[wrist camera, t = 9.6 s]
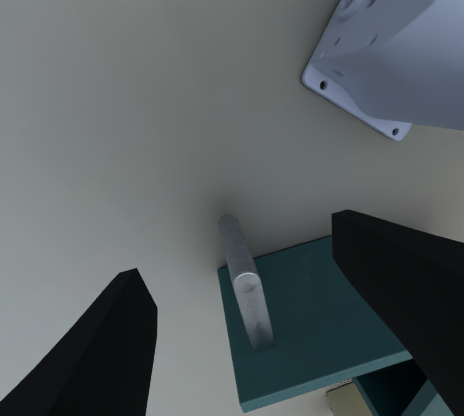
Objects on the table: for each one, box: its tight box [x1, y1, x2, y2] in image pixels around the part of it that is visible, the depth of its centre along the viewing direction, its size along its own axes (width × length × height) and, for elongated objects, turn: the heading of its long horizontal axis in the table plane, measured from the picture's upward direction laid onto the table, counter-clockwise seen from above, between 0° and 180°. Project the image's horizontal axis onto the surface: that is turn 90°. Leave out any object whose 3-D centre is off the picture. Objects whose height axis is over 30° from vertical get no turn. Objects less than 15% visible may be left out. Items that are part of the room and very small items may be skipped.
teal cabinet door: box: [218, 215, 413, 413], centre depth 16 cm, size 7×13×10 cm, turn 103°
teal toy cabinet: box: [352, 358, 454, 416], centre depth 21 cm, size 8×13×11 cm, turn 174°
